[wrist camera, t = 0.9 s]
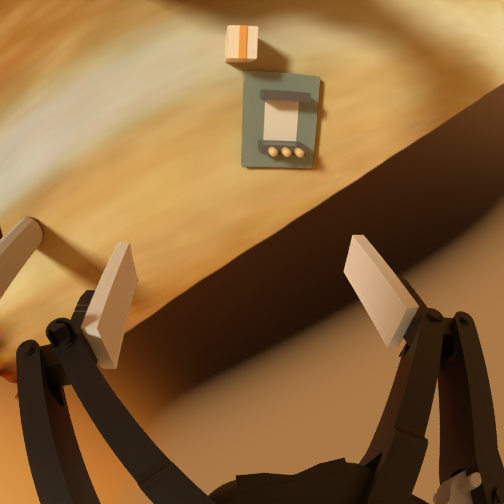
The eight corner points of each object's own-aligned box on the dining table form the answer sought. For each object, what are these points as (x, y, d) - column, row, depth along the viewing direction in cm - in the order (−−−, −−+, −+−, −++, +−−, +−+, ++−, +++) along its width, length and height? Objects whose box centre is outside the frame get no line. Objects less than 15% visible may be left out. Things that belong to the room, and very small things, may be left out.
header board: (243, 71, 40) (249, 68, 34) (317, 76, 41) (333, 76, 35) (241, 164, 48) (245, 177, 42) (309, 165, 50) (323, 178, 44)
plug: (225, 33, 36) (228, 25, 30) (251, 34, 36) (258, 26, 30) (224, 62, 38) (226, 57, 32) (250, 62, 39) (256, 58, 33)
